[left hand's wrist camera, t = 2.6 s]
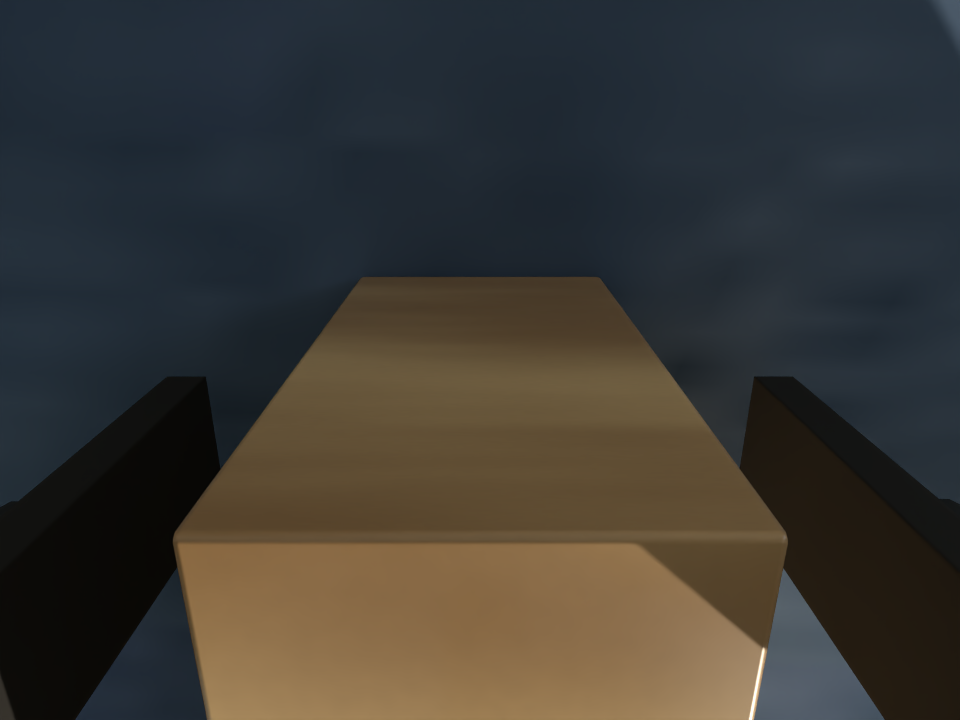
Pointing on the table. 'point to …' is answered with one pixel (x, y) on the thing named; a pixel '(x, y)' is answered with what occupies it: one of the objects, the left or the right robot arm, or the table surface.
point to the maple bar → (480, 524)
